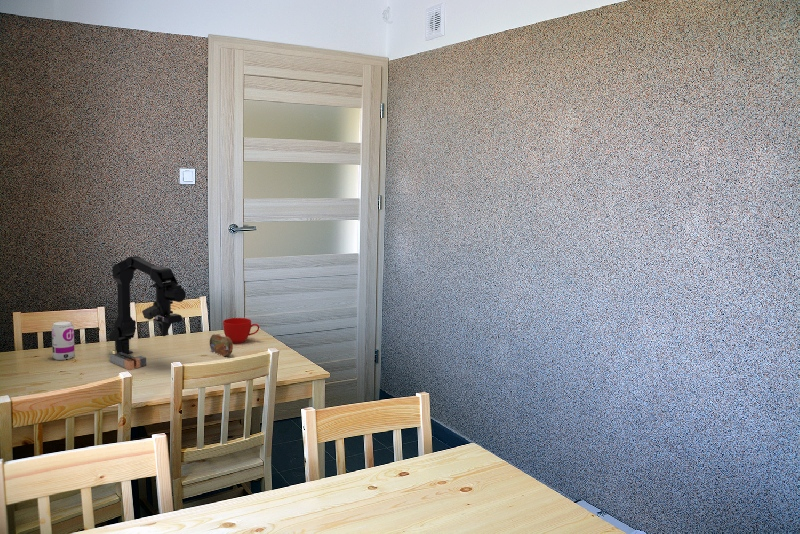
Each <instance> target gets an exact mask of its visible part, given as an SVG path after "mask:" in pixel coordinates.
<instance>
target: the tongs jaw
mask: <svg viewBox="0 0 800 534" xmlns="http://www.w3.org/2000/svg"><path fill="white" fill-rule="evenodd" d="M117 354H118V355H121V356H123V357H126V358H128V359H131V360H133V361H134V369H138V368H141V367H140V359H139V358H136V357H137V356H134V355H130V354H129V353H128V354H125V353H123V352H119V353H117Z"/></svg>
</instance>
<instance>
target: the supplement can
mask: <svg viewBox="0 0 800 534" xmlns="http://www.w3.org/2000/svg"><path fill="white" fill-rule="evenodd" d="M51 344H52V345H51V347H52V358H53V359H54V360H56V361H67V360H66V359H68V360H71V359H73V358H74V357H75V355H76V352H75V351H76V350H75V327H74V325H73V322H72V321H67V320H64V321H56V322H54V323H52V326H51ZM72 357H73V358H72ZM70 358H71V359H70Z"/></svg>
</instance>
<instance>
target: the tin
mask: <svg viewBox="0 0 800 534" xmlns="http://www.w3.org/2000/svg"><path fill="white" fill-rule="evenodd" d="M233 347H234V343H232V340H231V339H230V338H229V337H226V336H225V335H222V334H215V333H213V334H212V335H211V336H210V339H209V348H210V350H211V351H212V353H213V352H215V353H214V354H216V353H218V354H217V355H219V354H220V355H219V356H221V355H222V357H227V356H230V355H232V353H233Z"/></svg>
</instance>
